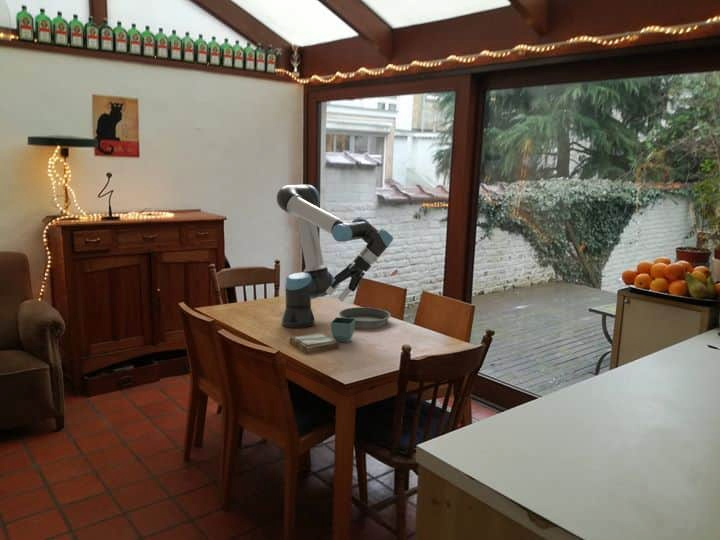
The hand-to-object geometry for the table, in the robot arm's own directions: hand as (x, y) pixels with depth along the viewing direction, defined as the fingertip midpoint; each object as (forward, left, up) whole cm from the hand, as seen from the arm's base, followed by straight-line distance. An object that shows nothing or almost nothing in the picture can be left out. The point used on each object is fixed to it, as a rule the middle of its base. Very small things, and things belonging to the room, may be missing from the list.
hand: (333, 296), depth 259 cm
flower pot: (+11, -2, -17) cm, 20 cm away
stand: (+11, -16, -17) cm, 26 cm away
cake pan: (-9, +22, -17) cm, 29 cm away
